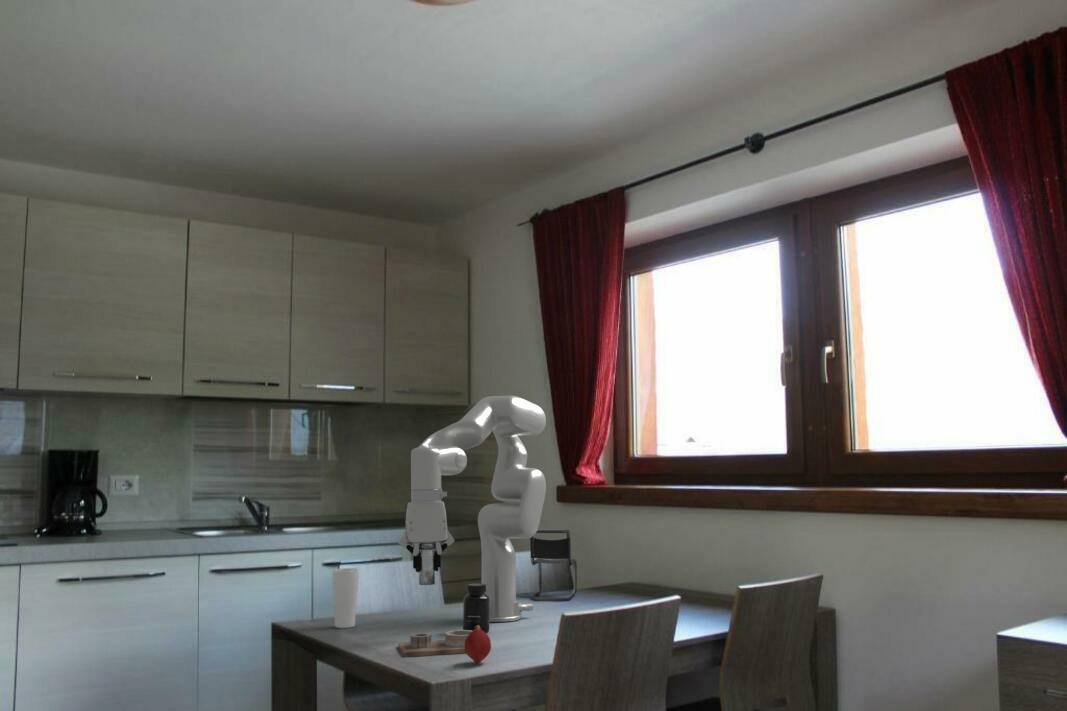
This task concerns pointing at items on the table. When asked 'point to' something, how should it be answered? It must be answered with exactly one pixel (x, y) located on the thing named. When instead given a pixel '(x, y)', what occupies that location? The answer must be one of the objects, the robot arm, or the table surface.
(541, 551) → the chair
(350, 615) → the drinking glass
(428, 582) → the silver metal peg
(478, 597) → the supplement bottle
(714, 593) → the table surface
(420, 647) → the fitting board
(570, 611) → the table surface
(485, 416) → the robot arm
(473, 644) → the onion
